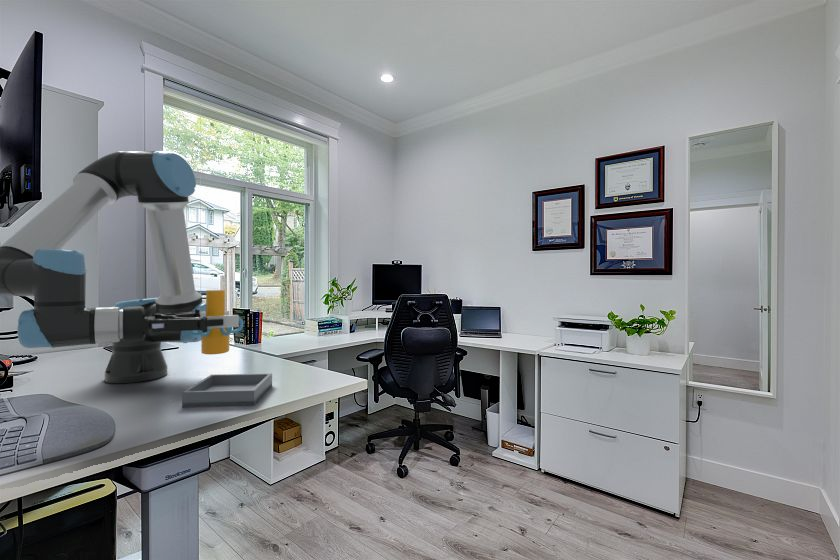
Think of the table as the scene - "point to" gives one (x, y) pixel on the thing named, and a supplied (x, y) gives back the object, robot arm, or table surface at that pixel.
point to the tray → (227, 390)
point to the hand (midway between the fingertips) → (233, 318)
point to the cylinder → (216, 337)
